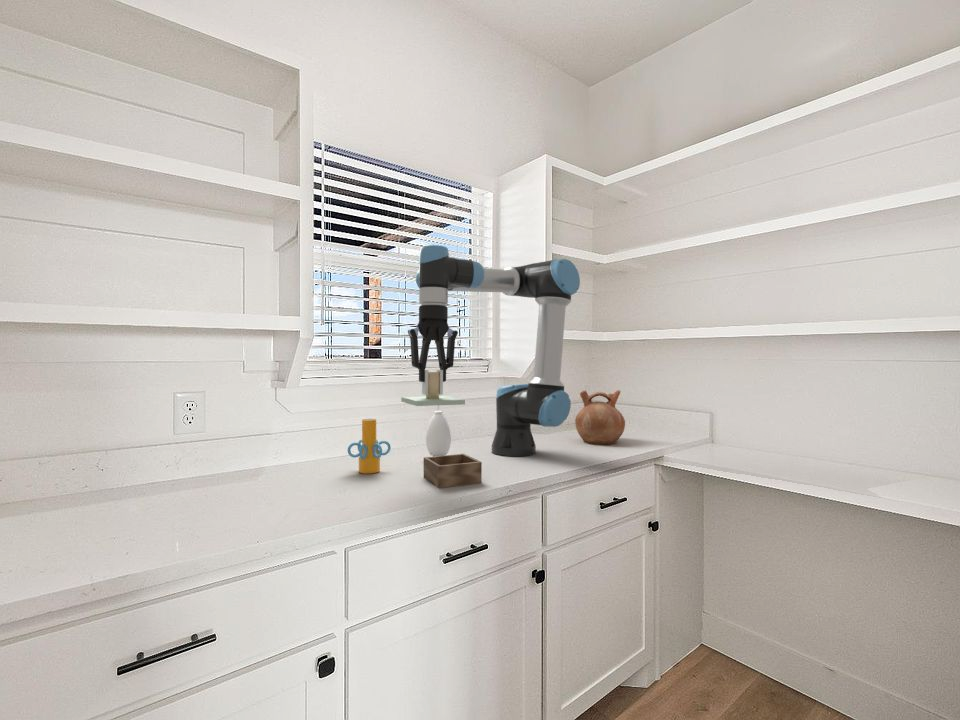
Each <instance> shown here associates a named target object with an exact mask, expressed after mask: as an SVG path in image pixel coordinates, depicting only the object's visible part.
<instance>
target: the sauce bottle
mask: <svg viewBox="0 0 960 720" xmlns="http://www.w3.org/2000/svg"><path fill="white" fill-rule="evenodd" d="M451 441H452V434H451V429H450V425H449V423H448V421H447V418H446V417H445V415H444V414H443V411H442V410H440V405H437V410H435V411H433V415H432V417H431V418H430V420H429V422H428V425H427V428H426V435H425V444H426V448H427V452H428V454H429V455H430V456H432V457H434V456H444V455H448V453H449V450H450V448H451V443H452V442H451Z"/></svg>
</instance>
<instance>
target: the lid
mask: <svg viewBox="0 0 960 720" xmlns="http://www.w3.org/2000/svg"><path fill="white" fill-rule="evenodd" d="M400 398H401V399H400V401H401V402H402V403H405V404H408V405H412V406H415V407H421V406H422V407H423V406H424V407H430V406H431V407H432V406H438V405H439V406H459V405H466V399H463V398H458V397H453V396H448V395H439V372H437V371H428V395H425V396H401V397H400Z"/></svg>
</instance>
